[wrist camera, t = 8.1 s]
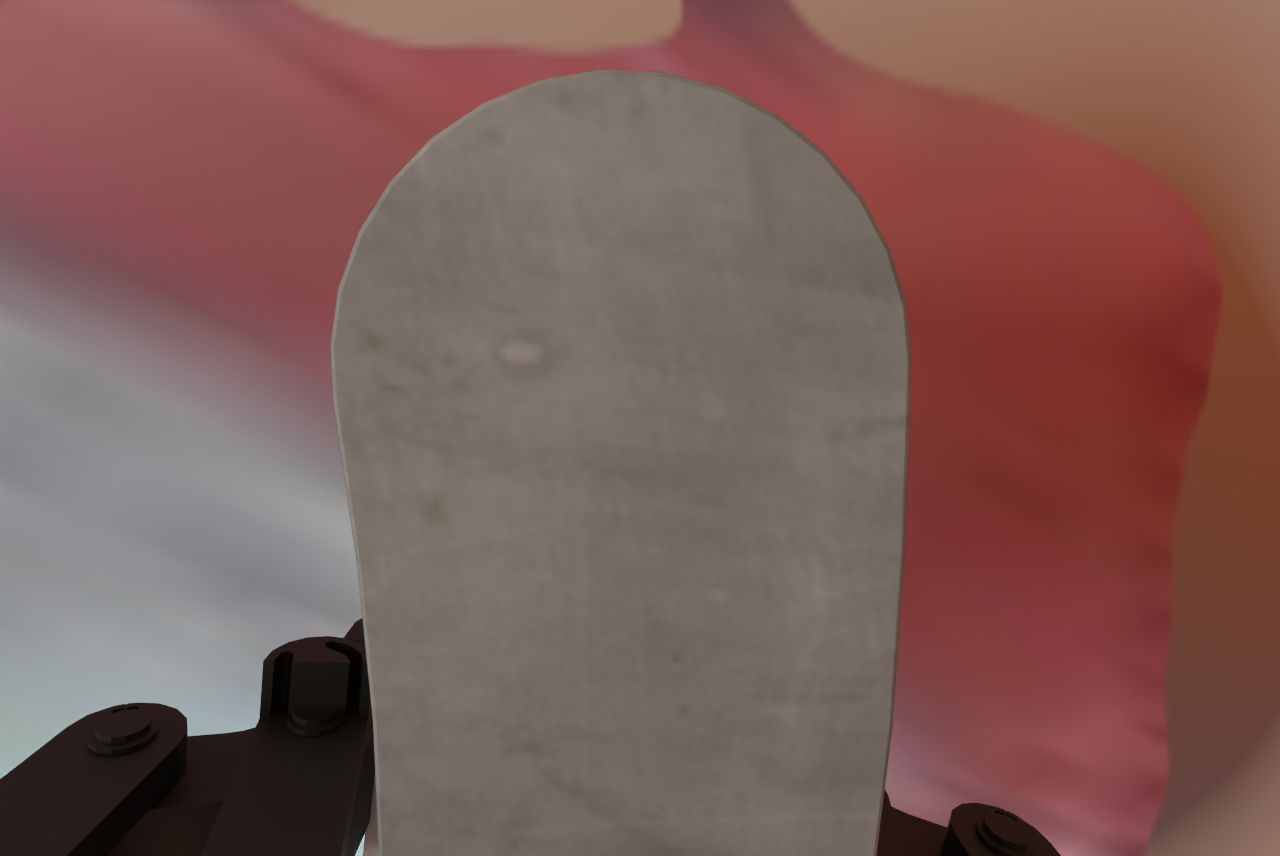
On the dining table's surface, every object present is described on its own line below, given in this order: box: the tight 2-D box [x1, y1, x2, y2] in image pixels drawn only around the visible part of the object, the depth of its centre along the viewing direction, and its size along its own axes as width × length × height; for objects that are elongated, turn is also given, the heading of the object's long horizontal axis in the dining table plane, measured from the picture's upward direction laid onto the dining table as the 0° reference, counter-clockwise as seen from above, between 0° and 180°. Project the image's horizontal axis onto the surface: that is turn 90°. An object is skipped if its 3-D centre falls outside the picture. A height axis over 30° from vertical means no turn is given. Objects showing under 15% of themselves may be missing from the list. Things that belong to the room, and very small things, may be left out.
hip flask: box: [330, 69, 911, 856], centre depth 13 cm, size 16×4×20 cm, turn 171°
